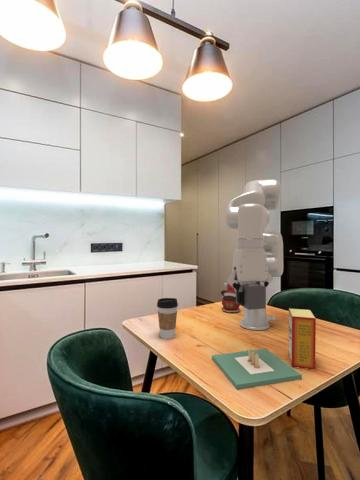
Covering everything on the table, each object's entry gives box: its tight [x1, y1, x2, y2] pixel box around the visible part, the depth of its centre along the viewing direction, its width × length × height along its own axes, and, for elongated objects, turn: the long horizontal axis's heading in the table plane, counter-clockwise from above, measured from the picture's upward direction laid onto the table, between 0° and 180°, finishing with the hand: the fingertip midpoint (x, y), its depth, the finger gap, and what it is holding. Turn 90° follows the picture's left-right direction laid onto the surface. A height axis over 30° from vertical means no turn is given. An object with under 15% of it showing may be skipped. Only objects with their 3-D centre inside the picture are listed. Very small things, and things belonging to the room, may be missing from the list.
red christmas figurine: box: [220, 282, 241, 313], centre depth 143 cm, size 11×9×18 cm
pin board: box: [211, 347, 303, 390], centre depth 82 cm, size 20×18×5 cm
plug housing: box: [235, 282, 267, 310], centre depth 83 cm, size 6×8×7 cm, turn 14°
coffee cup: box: [156, 297, 179, 340], centre depth 108 cm, size 8×8×15 cm
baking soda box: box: [288, 307, 317, 370], centre depth 86 cm, size 10×6×16 cm
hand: (250, 303), depth 83 cm, fingers closed on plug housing, 5 cm apart
